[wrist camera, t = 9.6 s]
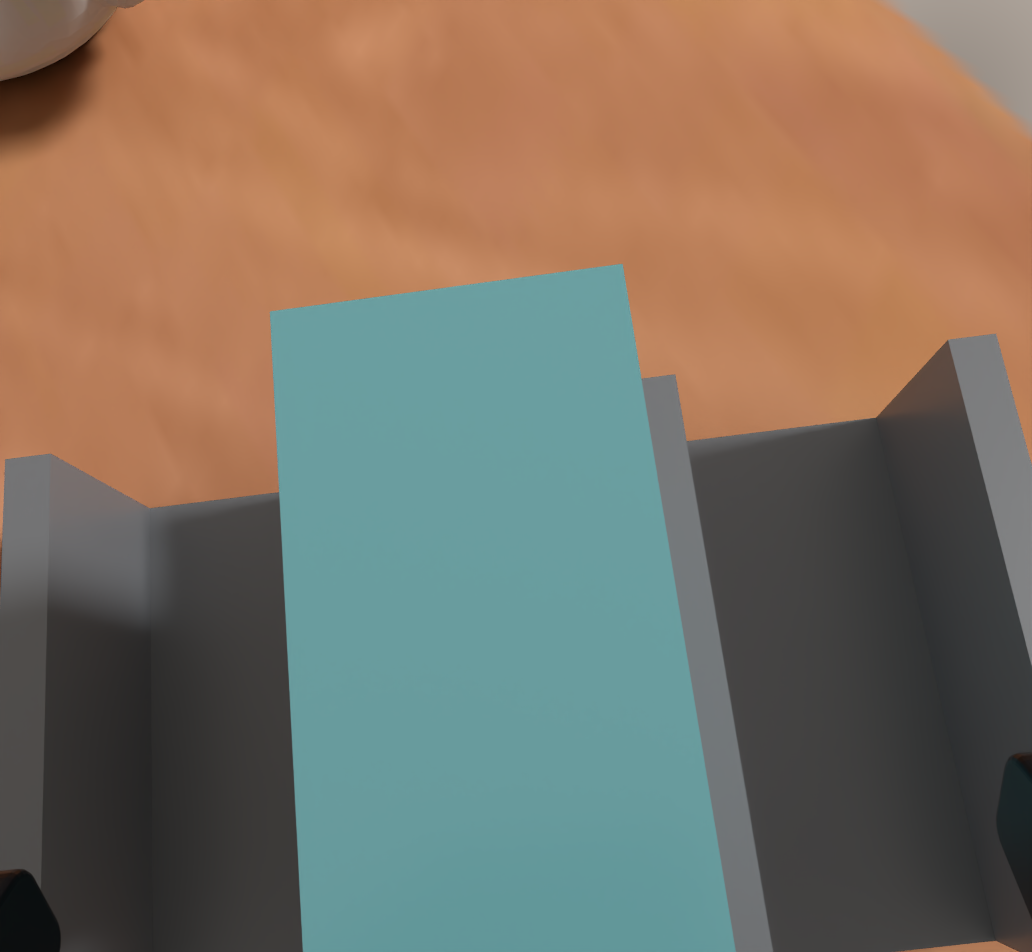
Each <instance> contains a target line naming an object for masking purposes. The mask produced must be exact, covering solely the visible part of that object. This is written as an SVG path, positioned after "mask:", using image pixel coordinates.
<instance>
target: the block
mask: <svg viewBox="0 0 1032 952" xmlns="http://www.w3.org/2000/svg"><path fill="white" fill-rule="evenodd" d="M270 322H271V341H272V361H273V380H274V399H275V419H276V438H277V458H278V477H279V497H280V516H281V535H282V555H283V574H284V594H285V613H286V633H287V652H288V671H289V691H290V710H291V730H292V749H293V768H294V788H295V807H296V827H297V846H298V866H299V885H300V904H301V924H302V943H303V952H736V950H735V944H734V938H733V931H732V925H731V919H730V913H729V907H728V901H727V895H726V889H725V883H724V877H723V871H722V865H721V859H720V853H719V847H718V840H717V834H716V828H715V822H714V816H713V810H712V804H711V798H710V792H709V786H708V780H707V774H706V768H705V762H704V756H703V749H702V743H701V737H700V731H699V725H698V719H697V713H696V707H695V701H694V695H693V689H692V683H691V677H690V671H689V665H688V659H687V652H686V646H685V640H684V634H683V628H682V622H681V616H680V610H679V604H678V598H677V592H676V586H675V580H674V574H673V568H672V561H671V555H670V549H669V543H668V537H667V531H666V525H665V519H664V513H663V507H662V501H661V495H660V489H659V483H658V477H657V470H656V464H655V458H654V452H653V446H652V440H651V434H650V428H649V422H648V416H647V410H646V404H645V398H644V392H643V386H642V380H641V373H640V367H639V361H638V355H637V349H636V343H635V337H634V331H633V325H632V319H631V313H630V307H629V301H628V295H627V289H626V282H625V276H624V270H623V264H618V265H611V266H603V267H596V268H588V269H581V270H574V271H566V272H559V273H551V274H544V275H537V276H529V277H522V278H514V279H507V280H500V281H492V282H485V283H478V284H470V285H463V286H455V287H448V288H441V289H433V290H426V291H418V292H411V293H404V294H396V295H389V296H381V297H374V298H367V299H359V300H352V301H344V302H337V303H330V304H322V305H315V306H308V307H300V308H293V309H285V310H278V311H271V312H270Z"/></svg>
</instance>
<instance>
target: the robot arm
mask: <svg viewBox="0 0 1032 952" xmlns="http://www.w3.org/2000/svg"><path fill="white" fill-rule="evenodd" d="M996 828H997V834H998V837H999V841H1000V844H1001V846H1002V849H1003V851H1004V854H1005V856H1006V859H1007V861H1008V864H1009V866H1010V869H1011V871H1012V873H1013V876H1014V878H1015V881H1016V883H1017V886H1018V888H1019V891H1020V893H1021V895H1022V898H1023V900H1024V903H1025V905H1026V908H1027V910H1028V913H1029V915H1030V917H1031V920H1032V752H1025V753H1016V754H1013V755H1011V756H1010V757H1009V758H1008V759H1007V761H1006V763H1005V766H1004V771H1003V777H1002V783H1001V789H1000V794H999V800H998V806H997V812H996ZM60 948H61V931H60V927H59V923H58V921H57V919H56V917H55V915H54V913H53V911H52V909H51V908H50V906H49V904H48V902H47V900H46V898H45V897H44V895H43V893H42V891H41V889H40V887H39V886H38V884H37V882H36V880H35V878H34V877H33V875H32V874H31V873H30V872H28V871H26V870H25V869H11V870H2V871H0V952H60Z"/></svg>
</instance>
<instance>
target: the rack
mask: <svg viewBox="0 0 1032 952" xmlns="http://www.w3.org/2000/svg"><path fill="white" fill-rule="evenodd" d="M641 380H642V386H643V392H644V398H645V404H646V410H647V416H648V422H649V428H650V434H651V440H652V446H653V452H654V458H655V464H656V470H657V477H658V483H659V489H660V495H661V501H662V507H663V513H664V519H665V525H666V531H667V537H668V543H669V549H670V555H671V561H672V568H673V574H674V580H675V586H676V592H677V598H678V604H679V610H680V616H681V622H682V628H683V634H684V640H685V646H686V652H687V659H688V665H689V671H690V677H691V683H692V689H693V695H694V701H695V707H696V713H697V719H698V725H699V731H700V737H701V743H702V749H703V756H704V762H705V768H706V774H707V780H708V786H709V792H710V798H711V804H712V810H713V816H714V822H715V828H716V834H717V840H718V847H719V853H720V859H721V865H722V871H723V877H724V883H725V889H726V895H727V901H728V907H729V913H730V919H731V925H732V931H733V938H734V944H735V950H736V952H896V951H905V950H914V949H923V948H933V947H942V946H951V945H960V944H969V943H978V942H987V941H998V942H1000V943H1002V944H1004V945H1006V946H1008V947H1010V948H1013V949H1015V950H1017V951H1019V952H1032V920H1031V917H1030V915H1029V913H1028V910H1027V908H1026V905H1025V903H1024V900H1023V898H1022V895H1021V893H1020V891H1019V888H1018V886H1017V883H1016V881H1015V878H1014V876H1013V873H1012V871H1011V869H1010V866H1009V864H1008V861H1007V859H1006V856H1005V854H1004V851H1003V849H1002V846H1001V844H1000V841H999V837H998V834H997V828H996V812H997V806H998V800H999V794H1000V789H1001V783H1002V777H1003V771H1004V766H1005V763H1006V761H1007V759H1008V758H1009V757H1010V756H1011V755H1013V754H1016V753H1025V752H1032V465H1031V461H1030V457H1029V453H1028V450H1027V446H1026V442H1025V439H1024V435H1023V431H1022V428H1021V424H1020V420H1019V417H1018V413H1017V409H1016V406H1015V402H1014V398H1013V395H1012V391H1011V387H1010V384H1009V380H1008V376H1007V373H1006V369H1005V365H1004V361H1003V358H1002V354H1001V350H1000V347H999V343H998V339H997V336H996V334H990V335H983V336H975V337H967V338H959V339H951V340H948V341H947V342H946V343H945V344H944V345H943V346H942V347H941V348H940V349H939V350H938V351H937V352H936V354H935V355H934V356H933V357H932V358H931V359H930V360H929V361H928V362H927V363H926V364H925V365H924V367H923V368H922V369H921V370H920V371H919V372H918V373H917V374H916V375H915V376H914V377H913V378H912V380H911V381H910V382H909V383H908V384H907V385H906V386H905V387H904V388H903V389H902V390H901V391H900V393H899V394H898V395H897V396H896V397H895V398H894V399H893V400H892V401H891V402H890V403H889V404H888V406H887V407H886V408H885V409H884V410H883V411H882V412H881V413H880V414H879V415H878V416H877V417H876V418H870V419H862V420H854V421H846V422H838V423H830V424H822V425H814V426H806V427H798V428H790V429H782V430H774V431H766V432H758V433H750V434H742V435H734V436H726V437H718V438H710V439H702V440H694V441H686V435H685V429H684V423H683V418H682V412H681V406H680V400H679V394H678V388H677V382H676V376H675V375H667V376H659V377H651V378H644V379H641ZM11 869H25V870H26V871H28V872H30V873H31V874H32V875H33V877H34V878H35V880H36V882H37V884H38V886H39V887H40V889H41V891H42V893H43V895H44V897H45V898H46V900H47V902H48V904H49V906H50V908H51V909H52V911H53V913H54V915H55V917H56V919H57V921H58V923H59V927H60V931H61V948H60V952H303V943H302V924H301V904H300V885H299V866H298V846H297V827H296V807H295V788H294V768H293V749H292V730H291V710H290V691H289V671H288V652H287V633H286V613H285V594H284V574H283V555H282V535H281V516H280V497H279V492H278V493H270V494H262V495H254V496H246V497H238V498H230V499H222V500H214V501H206V502H198V503H190V504H182V505H174V506H166V507H158V508H148V507H146V506H144V505H143V504H141V503H139V502H137V501H135V500H134V499H132V498H130V497H128V496H126V495H124V494H123V493H121V492H119V491H117V490H115V489H114V488H112V487H110V486H108V485H106V484H105V483H103V482H101V481H99V480H97V479H96V478H94V477H92V476H90V475H88V474H86V473H85V472H83V471H81V470H79V469H77V468H76V467H74V466H72V465H70V464H68V463H67V462H65V461H63V460H61V459H59V458H58V457H56V456H54V455H52V454H45V455H37V456H29V457H21V458H13V459H5V481H4V509H3V537H2V565H1V592H0V871H2V870H11Z"/></svg>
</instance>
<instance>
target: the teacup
mask: <svg viewBox="0 0 1032 952" xmlns="http://www.w3.org/2000/svg"><path fill="white" fill-rule="evenodd" d="M142 1H143V0H0V81H3V80H7V79H11V78H15V77H19V76H23V75H26V74H29V73H32V72H35V71H37V70H39V69H41V68H44V67H46V66H48V65H50V64H53V63H55V62H56V61H58V60H60V59H62V58H64V57H66V56H67V55H69V54H70V53H71V52H73V51H74V50H76V49H77V48H78V47H80V46H81V45H83V44H84V43H85V42H87V41H88V40H89V39H90V38H91V37H92V36H93V35H94V34H95V33H96V32H97V31H98V30H100V28H101V27H102V26H103V25H104V24H105V23H106V21H107V20H108V19H109V18H110V17H111V16H112V14H113V13H114V11H115V10H116V8H117V7H121V8H129V7H134V6H135V5H137V4H139V3H140V2H142Z"/></svg>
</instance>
